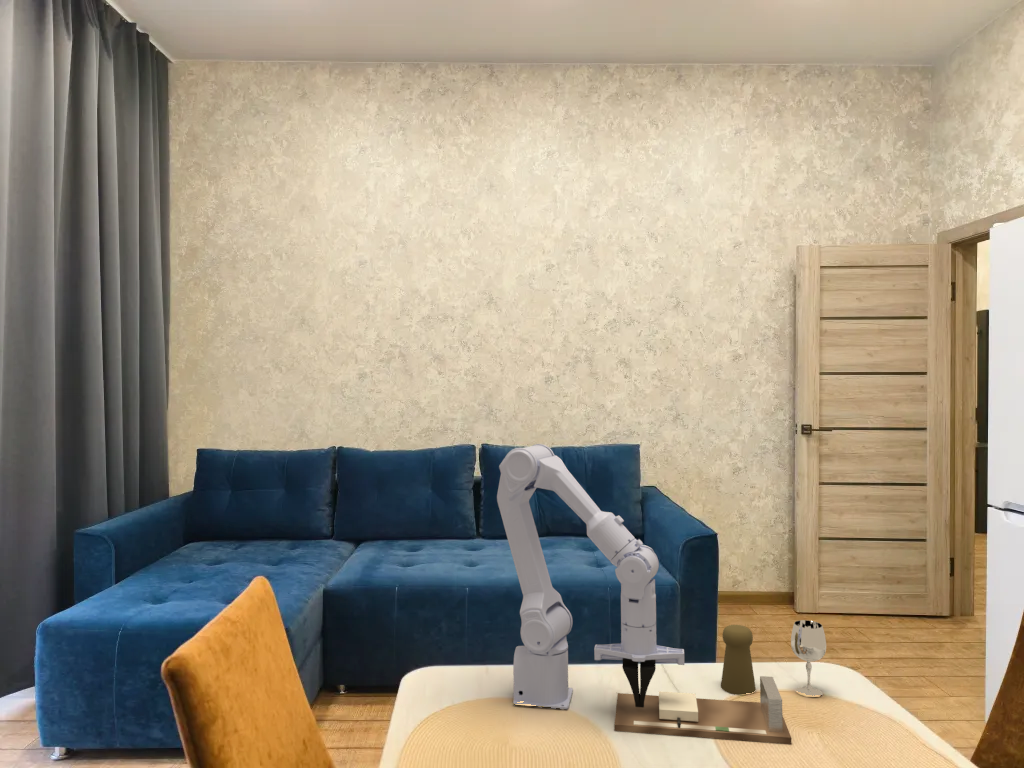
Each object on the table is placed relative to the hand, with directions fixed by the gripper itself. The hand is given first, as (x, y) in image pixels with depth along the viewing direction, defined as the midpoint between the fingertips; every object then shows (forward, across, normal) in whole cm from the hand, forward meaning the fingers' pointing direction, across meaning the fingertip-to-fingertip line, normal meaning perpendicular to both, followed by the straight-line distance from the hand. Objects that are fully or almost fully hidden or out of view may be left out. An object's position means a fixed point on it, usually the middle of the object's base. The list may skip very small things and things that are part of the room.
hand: (639, 704), depth 121 cm
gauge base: (+2, +9, 0) cm, 10 cm away
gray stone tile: (+2, +21, 0) cm, 21 cm away
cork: (+2, +17, +14) cm, 22 cm away
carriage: (+1, +6, -1) cm, 6 cm away
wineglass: (+2, +29, +14) cm, 32 cm away
